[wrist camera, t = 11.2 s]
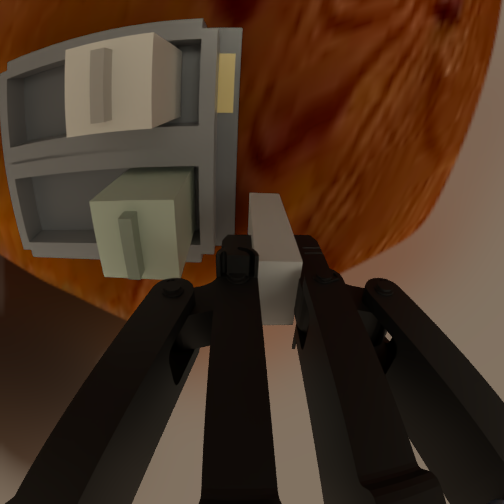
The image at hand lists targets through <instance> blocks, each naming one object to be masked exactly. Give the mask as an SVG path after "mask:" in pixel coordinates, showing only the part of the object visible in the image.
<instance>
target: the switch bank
mask: <svg viewBox="0 0 504 504" xmlns="http://www.w3.org/2000/svg"><path fill="white" fill-rule="evenodd" d="M151 32H154V33H156V34H157V35H159V36H160V37H162V38H163V39H165V40H166V41H168V42H169V43H171V44H172V45H174V46H175V47H177V48H178V49H180V50H181V51H182V71H181V117H178V118H176V119H173V120H171V121H169V122H166V123H164V124H161V125H159V126H157V127H154V128H152V129H139V130H126V131H116V132H106V133H97V134H89V135H82V136H75V137H68V138H67V134H66V119H65V51H66V50H67V49H71V48H74V47H78V46H82V45H86V44H90V43H94V42H99V41H103V40H108V39H113V38H119V37H124V36H130V35H137V34H144V33H151ZM241 46H242V28H207V25H206V24H205V22H204V20H203V18H201V19H184V20H171V21H162V22H153V23H146V24H139V25H133V26H127V27H121V28H116V29H111V30H106V31H102V32H97V33H93V34H89V35H85V36H81V37H78V38H74V39H71V40H67V41H64V42H61V43H57V44H54V45H51V46H48V47H45V48H43V49H40V50H37V51H34V52H32V53H29V54H26V55H24V56H21V57H19V58H17V59H14V60H12V61H10V62H7V71H5V72H3V73H1V74H0V123H1V135H2V145H3V154H4V161H5V168H6V174H7V180H8V186H9V191H10V196H11V201H12V205H13V210H14V214H15V218H16V222H17V226H18V230H19V233H20V237H21V241H22V244H23V247H24V249H28V250H32V254H33V257H53V258H78V259H100V256H99V251H98V247H97V242H96V237H95V232H94V226H93V221H92V215H91V209H90V203H89V201H91V200H92V199H93V198H94V197H95V196H96V195H98V194H99V193H100V192H101V191H102V190H104V189H105V188H106V187H107V186H108V185H110V184H111V183H112V182H113V181H115V180H116V179H117V178H118V177H120V176H121V175H122V174H123V173H125V172H126V171H127V170H129V169H130V168H138V167H169V166H194V178H195V217H196V227H195V231H194V234H193V237H192V241H191V244H190V247H189V251H188V254H187V258H186V261H185V262H201V261H202V256H203V254H214V251H215V246H222V240H223V239H224V238H225V237H226V236H227V235H235V196H236V163H237V135H238V110H239V87H240V66H241Z"/></svg>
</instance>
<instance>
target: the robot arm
mask: <svg viewBox="0 0 504 504" xmlns="http://www.w3.org/2000/svg"><path fill="white" fill-rule="evenodd" d="M216 275H217V278H216V279H215V280H214V281H213V282H211V283H209V284H207V285H204V286H200V287H195V288H194V287H193V285H192V283H190V282H189V281H188V280H185V279H182V278H169V279H165V280H162V281H160V282H158V283H157V284H156V285H155V286H154V287H153V288H152V289H151V291H150V292H149V293H148V295H147V296H146V297H145V299H144V300H143V301H142V302H141V304H140V305H139V306H138V308H137V309H136V310H135V312H134V313H133V314H132V316H131V317H130V319H129V320H128V321H127V323H126V324H125V325H124V327H123V328H122V329H121V331H120V332H119V334H118V335H117V336H116V338H115V339H114V341H113V342H112V343H111V345H110V346H109V347H108V349H107V350H106V352H105V353H104V354H103V356H102V357H101V359H100V360H99V362H98V363H97V364H96V366H95V367H94V369H93V370H92V372H91V373H90V375H89V376H88V378H87V379H86V380H85V382H84V383H83V385H82V386H81V388H80V389H79V391H78V392H77V394H76V395H75V397H74V398H73V400H72V401H71V403H70V404H69V406H68V407H67V409H66V411H65V412H64V414H63V415H62V417H61V418H60V420H59V422H58V423H57V425H56V426H55V428H54V429H53V431H52V433H51V434H50V436H49V438H48V439H47V441H46V442H45V444H44V446H43V447H42V449H41V451H40V452H39V454H38V456H37V457H36V459H35V461H34V463H33V464H32V466H31V468H30V469H29V471H28V473H27V475H26V476H25V478H24V480H23V482H22V484H21V486H20V487H19V489H18V491H17V493H16V495H15V496H14V497H13V498H12V499H10V500H9V501H8V502H7V503H5V504H132V502H133V500H134V497H135V495H136V493H137V490H138V488H139V486H140V483H141V481H142V479H143V477H144V474H145V472H146V470H147V467H148V465H149V463H150V461H151V458H152V456H153V454H154V452H155V449H156V447H157V445H158V443H159V440H160V438H161V436H162V434H163V431H164V429H165V427H166V425H167V422H168V420H169V418H170V416H171V413H172V411H173V409H174V407H175V404H176V402H177V400H178V398H179V395H180V393H181V391H182V388H183V386H184V384H185V382H186V380H187V378H188V375H189V373H190V371H191V369H192V366H193V364H194V362H195V360H196V357H197V355H198V353H199V349H200V348H201V347H205V346H210V354H209V355H210V356H209V367H208V380H207V394H206V410H205V426H204V444H203V465H202V489H201V499H200V502H199V504H281V501H280V499H279V496H278V490H277V489H278V488H277V478H276V467H275V456H274V446H273V434H272V423H271V412H270V402H269V390H268V380H267V369H266V358H265V348H264V337H263V327H262V325H292V324H293V319H294V314H295V319H296V328H295V333H294V338H293V344H292V349H295V346H296V344H297V349H298V355H299V360H300V365H301V370H302V375H303V381H304V387H305V392H306V397H307V403H308V409H309V414H310V420H311V425H312V432H313V438H314V443H315V450H316V455H317V462H318V467H319V474H320V480H321V486H322V493H323V499H324V504H446V501H445V498H444V495H445V497H446V498H447V500H448V501H449V503H450V504H504V402H503V401H502V400H501V399H500V397H499V396H498V395H497V394H496V392H495V391H494V390H493V389H492V388H491V386H490V385H489V384H488V383H487V382H486V380H485V379H484V378H483V377H482V375H480V373H479V372H478V371H477V370H476V369H475V368H474V366H473V365H472V364H471V363H470V362H469V360H468V359H467V358H466V357H465V356H464V355H463V354H462V353H461V351H459V349H458V348H457V347H456V346H455V345H454V344H453V342H451V340H450V339H449V338H448V337H447V336H446V335H445V334H444V333H443V332H442V331H441V329H440V328H439V327H438V326H437V325H436V324H435V323H434V322H433V321H432V320H431V319H430V318H429V317H428V316H427V315H426V314H425V313H424V312H423V311H422V310H421V309H420V307H418V305H416V303H415V302H414V301H413V300H412V299H410V297H409V296H408V295H406V294H405V292H403V291H402V289H401V288H400V287H398V286H397V285H396V284H395V283H393V282H391V281H389V280H387V279H383V278H373V279H370V280H368V282H367V283H366V285H365V288H360V287H355V286H351V285H347V284H345V282H344V280H343V278H342V277H341V275H340V274H339V273H337V272H336V271H334V270H332V269H330V268H329V266H328V264H327V262H326V260H325V257H324V255H323V254H322V251H321V249H320V247H319V244H318V242H317V241H316V240H315V239H314V238H312V237H311V236H310V235H293V232H292V229H291V226H290V223H289V220H288V218H287V215H286V212H285V209H284V206H283V204H282V201H281V198H280V195H279V194H273V193H249V217H248V235H227V236H226V237H225V238H224V239H223V240H222V248H221V249H220V250H219V251H218V252H217V254H216ZM387 331H388V333H389V334H390V335H391V336H392V339H391V341H389V340H388V339H387V338H386V337H385V335H386V333H387ZM408 437H409V438H408ZM409 439H410V440H411V442H412V444H413V445H414V447H415V448H416V450H417V451H418V453H419V455H420V456H421V458H422V459H423V461H424V463H425V464H426V466H427V467H428V469H429V471H427V470H424V469H421V468H420V467H419V466H418V464H417V462H416V459H415V456H414V453H413V450H412V447H411V444H410V441H409ZM443 493H444V494H443Z"/></svg>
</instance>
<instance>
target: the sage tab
mask: <svg viewBox="0 0 504 504" xmlns="http://www.w3.org/2000/svg"><path fill="white" fill-rule="evenodd" d="M89 203H90V209H91V215H92V221H93V226H94V232H95V237H96V242H97V247H98V251H99V256H100V260H101V265H102V269H103V273H104V277H118V278H128V279H134V280H141V279H163V280H165V279H169V278H181V276H182V272H183V268H184V265H185V261H186V258H187V254H188V251H189V247H190V244H191V241H192V237H193V234H194V231H195V227H196V217H195V178H194V166H169V167H138V168H130V169H129V170H127V171H126V172H125V173H123V174H122V175H121V176H120V177H118V178H117V179H116V180H115V181H113V182H112V183H111V184H110V185H108V186H107V187H106V188H105V189H104V190H102V191H101V192H100V193H99V194H98V195H96V196H95V197H94V198H93V199H92V200H91V201H89Z"/></svg>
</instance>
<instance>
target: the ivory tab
mask: <svg viewBox="0 0 504 504" xmlns="http://www.w3.org/2000/svg"><path fill="white" fill-rule="evenodd" d="M181 71H182V51H181V50H180V49H178V48H177V47H175V46H174V45H172V44H171V43H169V42H168V41H166V40H165V39H163V38H162V37H160V36H159V35H157V34H156V33H154V32H151V33H144V34H137V35H130V36H124V37H119V38H113V39H108V40H103V41H99V42H94V43H90V44H86V45H82V46H78V47H74V48H71V49H67V50H66V51H65V119H66V134H67V138H68V137H75V136H82V135H89V134H97V133H106V132H116V131H126V130H139V129H152V128H154V127H157V126H159V125H161V124H164V123H166V122H169V121H171V120H173V119H176V118H178V117H181Z"/></svg>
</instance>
